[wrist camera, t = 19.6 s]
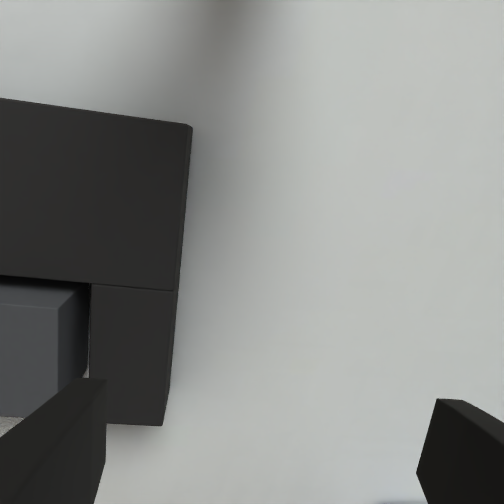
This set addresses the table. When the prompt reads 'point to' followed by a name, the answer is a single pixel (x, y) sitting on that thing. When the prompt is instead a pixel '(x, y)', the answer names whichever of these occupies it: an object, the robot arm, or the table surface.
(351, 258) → the table surface
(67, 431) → the robot arm
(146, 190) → the black u-shaped block
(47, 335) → the gray block
